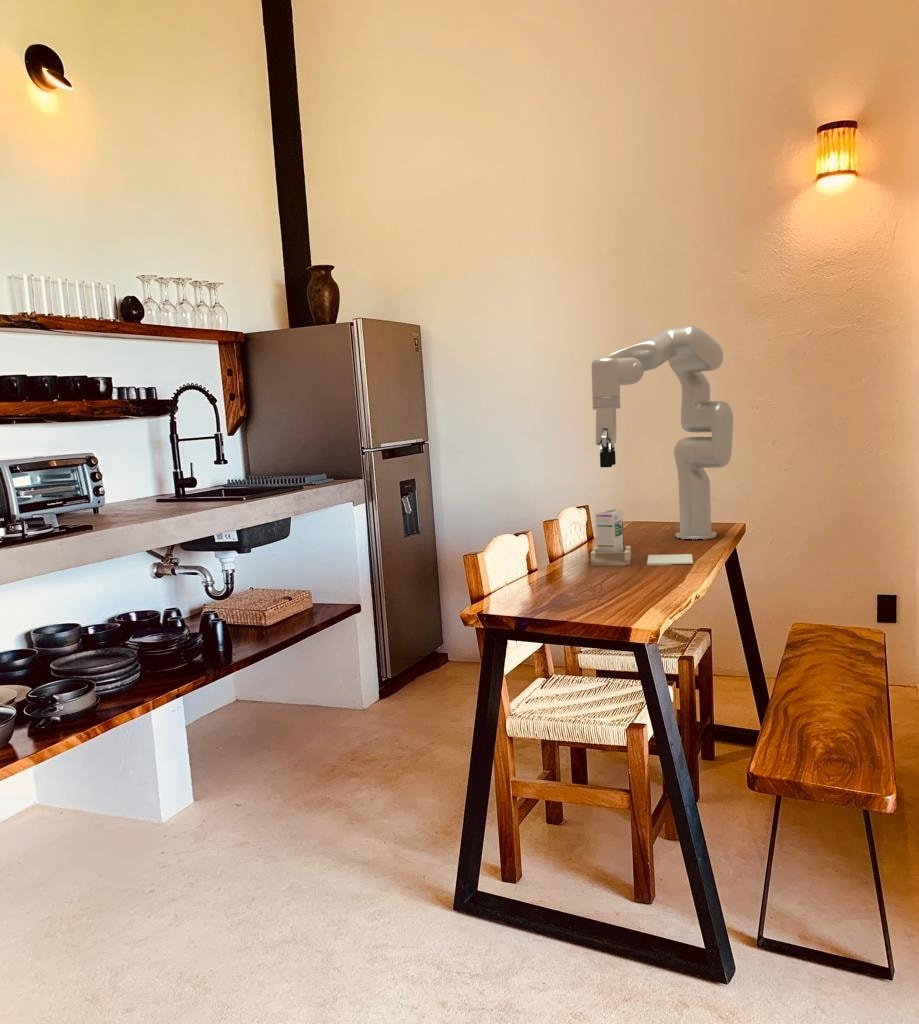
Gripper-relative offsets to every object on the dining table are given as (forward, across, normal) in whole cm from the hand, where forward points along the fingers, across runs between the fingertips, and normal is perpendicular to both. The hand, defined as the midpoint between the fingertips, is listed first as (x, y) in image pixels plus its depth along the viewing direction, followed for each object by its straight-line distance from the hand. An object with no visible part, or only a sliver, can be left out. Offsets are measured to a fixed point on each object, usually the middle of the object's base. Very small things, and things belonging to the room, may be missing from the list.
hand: (608, 466), depth 237 cm
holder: (+27, 0, 0) cm, 27 cm away
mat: (+27, 0, +16) cm, 31 cm away
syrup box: (+27, 0, 0) cm, 27 cm away
